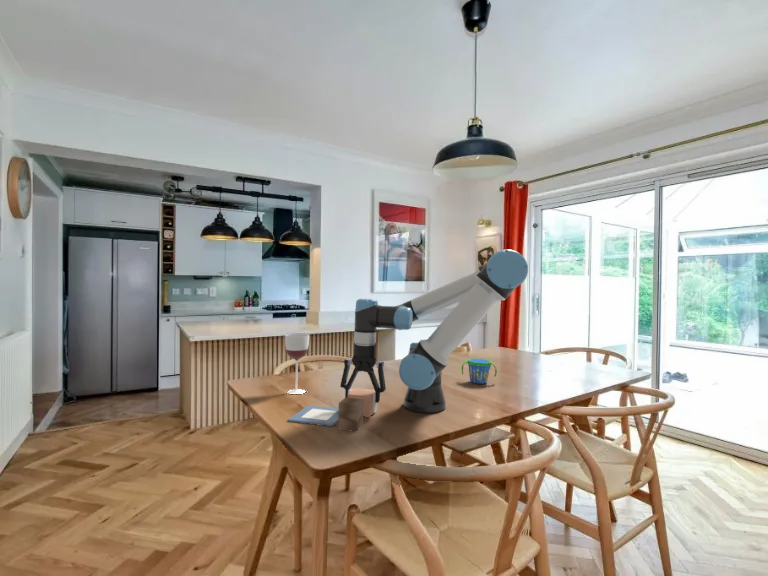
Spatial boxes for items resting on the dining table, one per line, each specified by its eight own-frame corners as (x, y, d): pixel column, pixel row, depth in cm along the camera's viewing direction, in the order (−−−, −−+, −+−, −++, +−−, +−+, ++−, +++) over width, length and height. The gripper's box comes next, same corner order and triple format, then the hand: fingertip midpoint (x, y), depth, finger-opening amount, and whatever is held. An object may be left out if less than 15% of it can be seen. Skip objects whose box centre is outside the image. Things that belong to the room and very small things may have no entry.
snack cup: (496, 381, 179) (496, 359, 179) (496, 387, 169) (497, 364, 169) (462, 378, 183) (462, 357, 183) (460, 383, 173) (460, 361, 173)
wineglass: (313, 391, 156) (314, 334, 156) (295, 396, 148) (297, 337, 147) (296, 387, 161) (297, 332, 161) (278, 393, 152) (279, 335, 152)
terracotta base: (376, 410, 135) (376, 390, 135) (370, 417, 127) (370, 396, 127) (354, 407, 137) (355, 388, 137) (347, 415, 129) (347, 394, 129)
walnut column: (363, 424, 120) (363, 399, 120) (357, 431, 115) (357, 405, 114) (344, 422, 122) (345, 397, 122) (338, 429, 116) (338, 403, 116)
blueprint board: (348, 411, 133) (348, 409, 133) (332, 426, 118) (332, 424, 118) (308, 406, 136) (308, 405, 136) (287, 421, 122) (287, 419, 122)
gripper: (397, 344, 133) (394, 410, 133) (339, 340, 138) (337, 403, 138) (392, 348, 125) (389, 417, 126) (331, 343, 130) (329, 409, 131)
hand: (361, 409), depth 132 cm, fingers open, 8 cm apart
